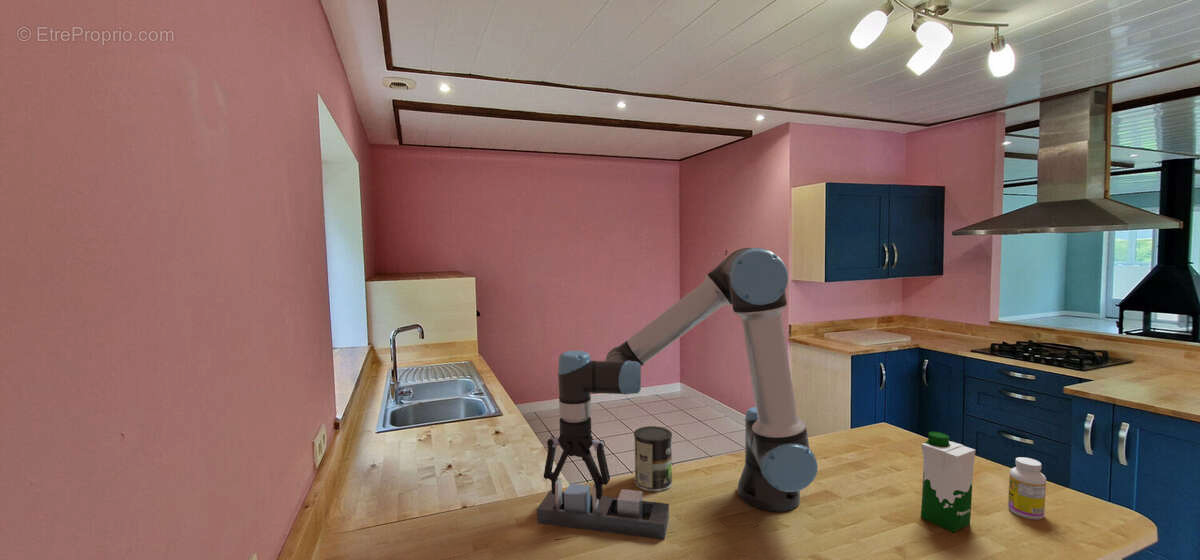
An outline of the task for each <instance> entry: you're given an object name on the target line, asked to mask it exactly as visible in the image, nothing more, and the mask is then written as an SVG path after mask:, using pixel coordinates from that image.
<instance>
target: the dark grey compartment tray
mask: <svg viewBox="0 0 1200 560" xmlns="http://www.w3.org/2000/svg"><path fill="white" fill-rule="evenodd" d="M564 493H565V491H562V505H561V506H560V508H559V509H556V501H555V494H552V489H551V490H549V491H548V493H547V494H546V495H545V497H544V499H543V500H542V501H541V502H540V504H539V505H538V507H537V508H536V516H537V518H536V520H537V524H540V525H541V524H543V525H549V526H556V527H564V528H571V529H572V528H573V529H578V530H587V531H594V532H600V533H601V532H602V533H603V532H604V533H608V534H609V533H610V534H616V535H617V534H618V535H625V536H632V537H640V538H641V537H642V538H649V539H655V540H662V541H665V539H666V534H667V531H668V530H667V528H668V524H669V519H670V518H669V517H670V514H669V513H670V509H669V507H670V505H669V504H670V503H666V502H656V501H647V500H642V503H643V518H648V519H635V518H626V517H618V503H617V500H618V497H613V496H612V497H611V496H604V495H602V497H601V499H599V503H598V505H597V507H596V509H595V511H594V513H593V494H590V513H586V512H577V511H569V510H564V509H562V508H564ZM591 511H592V513H591ZM615 514H616V515H617V516H616V515H615Z"/></svg>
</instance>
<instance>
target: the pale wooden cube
mask: <svg viewBox="0 0 1200 560" xmlns="http://www.w3.org/2000/svg"><path fill="white" fill-rule="evenodd" d="M617 498H618V500H617V503H618V514H617V516H618V517H626V518H635V519H643V518H644V517H643V503H642V501H643V490H632V489H624V488H622V489H621V491H620V492H619V495H618V497H617ZM643 520H644V519H643Z"/></svg>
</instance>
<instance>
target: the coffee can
mask: <svg viewBox="0 0 1200 560" xmlns="http://www.w3.org/2000/svg"><path fill="white" fill-rule="evenodd" d="M633 436H634V484H635V485H636V487H637V488H639V489H641V491H646V492H652V493H653V492H656V493H657V492H663V490H664V491H666V489H667V490H669V489H670V488H671V487H672V485H673V479H672V478H673V476H672V475H673V474H672V473H673V472H672V471H673V470H672V465H673V464H672V463H673V462H672V460H673V459H672V436H673V433H672V431H671V430H670V429H668V428H666V427H661V426H651V425H650V426H642V427H639V428H637V429H635V430H634V432H633Z"/></svg>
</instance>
